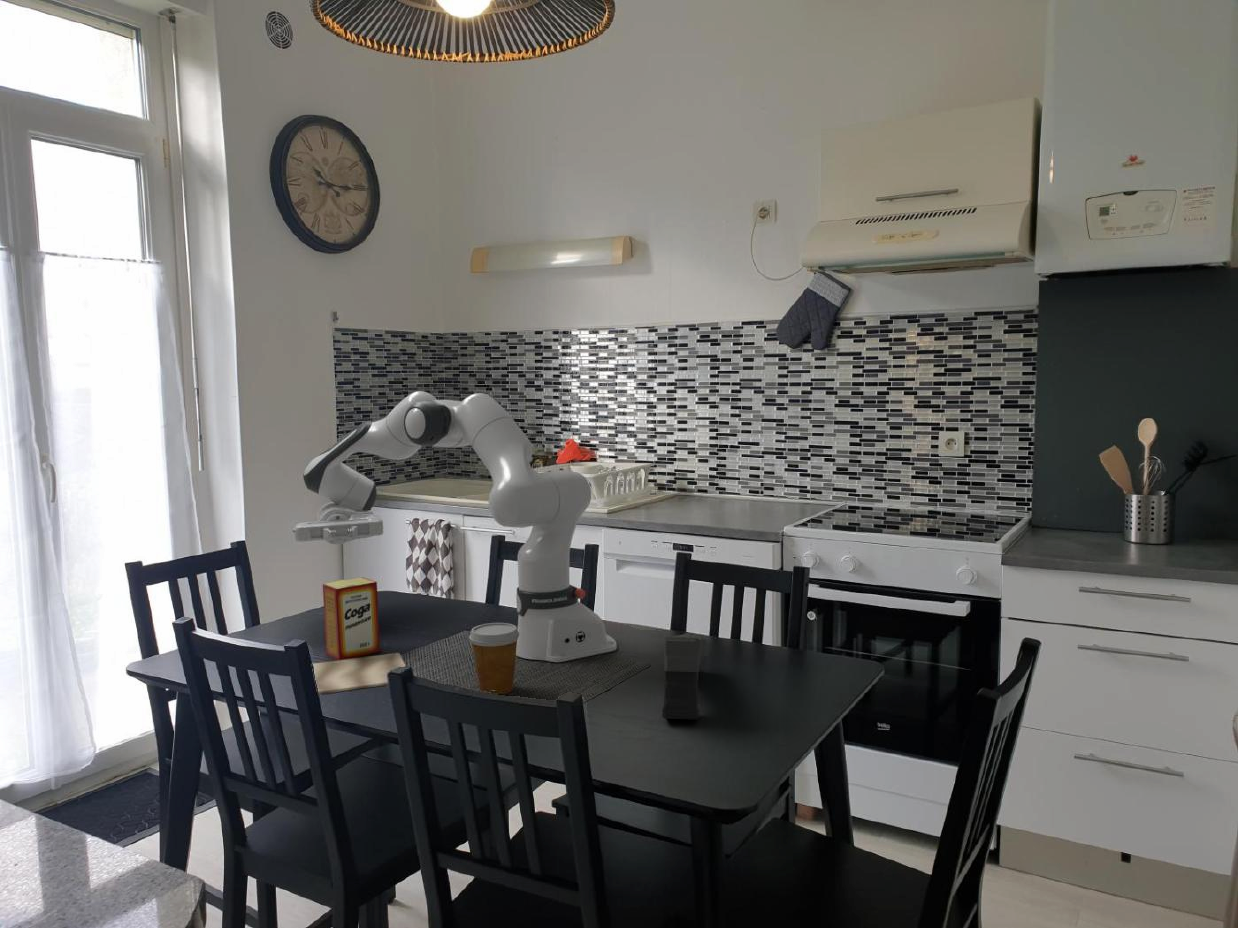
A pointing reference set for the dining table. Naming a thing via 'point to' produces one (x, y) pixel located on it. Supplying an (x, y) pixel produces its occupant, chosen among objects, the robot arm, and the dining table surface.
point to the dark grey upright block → (683, 675)
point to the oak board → (355, 672)
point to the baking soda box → (351, 618)
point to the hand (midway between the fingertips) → (341, 534)
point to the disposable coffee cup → (495, 656)
